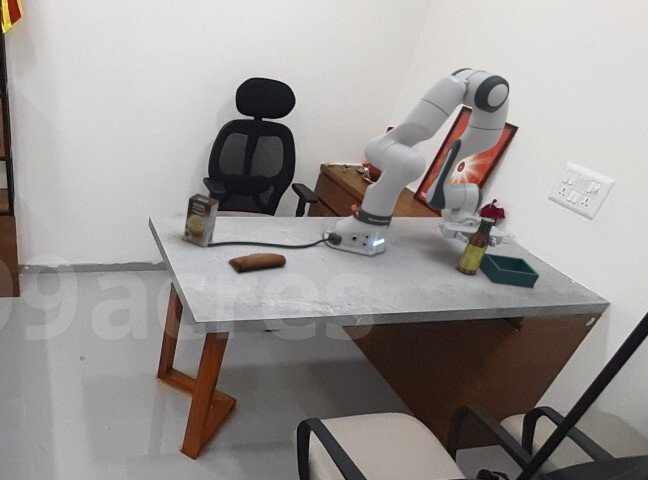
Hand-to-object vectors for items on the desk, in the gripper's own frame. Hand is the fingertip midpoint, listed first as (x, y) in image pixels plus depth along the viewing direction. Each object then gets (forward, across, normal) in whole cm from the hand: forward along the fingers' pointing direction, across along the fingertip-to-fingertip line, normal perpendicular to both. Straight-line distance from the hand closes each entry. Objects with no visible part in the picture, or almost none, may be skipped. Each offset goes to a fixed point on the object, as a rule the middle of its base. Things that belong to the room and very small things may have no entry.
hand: (479, 242), depth 179 cm
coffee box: (+6, -97, +12) cm, 98 cm away
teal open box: (-1, +14, +12) cm, 18 cm away
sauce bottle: (-1, 0, +12) cm, 12 cm away
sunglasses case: (+18, -76, +12) cm, 79 cm away
